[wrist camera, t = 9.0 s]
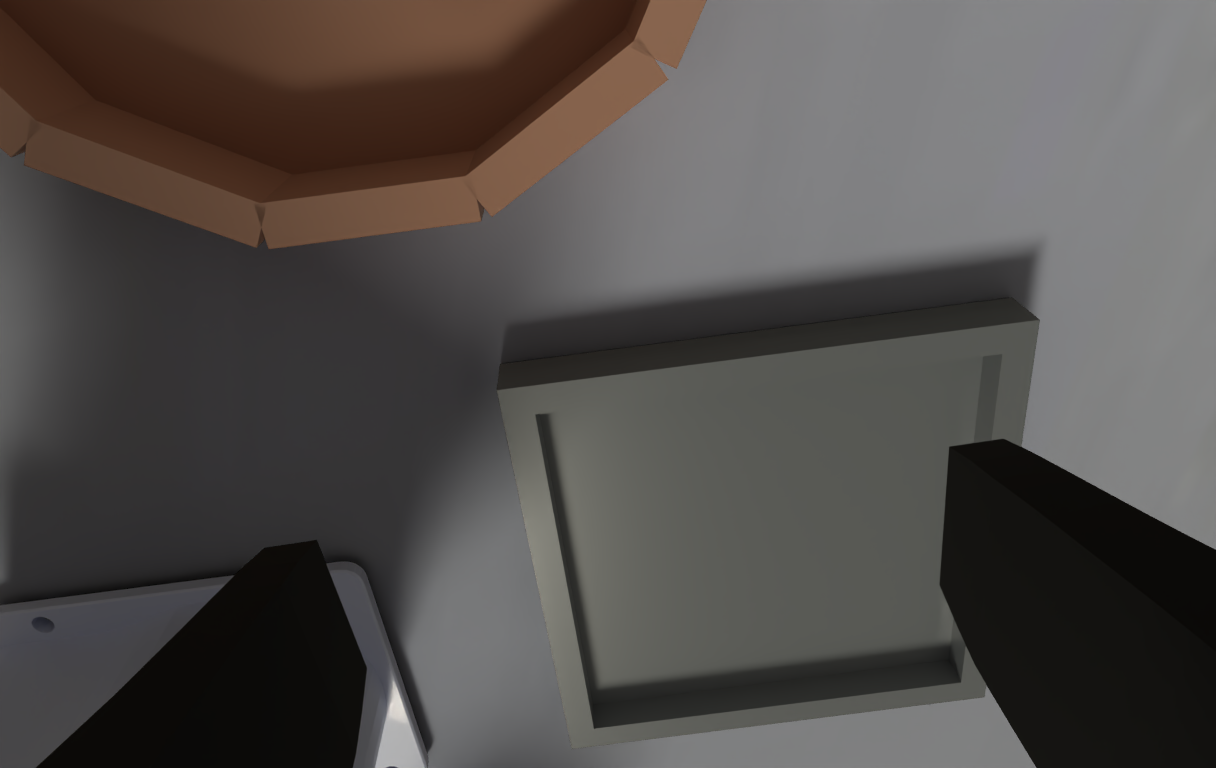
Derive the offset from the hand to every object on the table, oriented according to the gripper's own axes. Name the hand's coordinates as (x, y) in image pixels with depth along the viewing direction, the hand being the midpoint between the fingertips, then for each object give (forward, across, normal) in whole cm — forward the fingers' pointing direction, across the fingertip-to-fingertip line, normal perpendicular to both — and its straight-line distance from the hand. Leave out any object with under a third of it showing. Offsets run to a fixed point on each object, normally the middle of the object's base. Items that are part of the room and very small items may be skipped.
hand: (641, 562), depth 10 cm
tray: (+9, -3, +8) cm, 12 cm away
